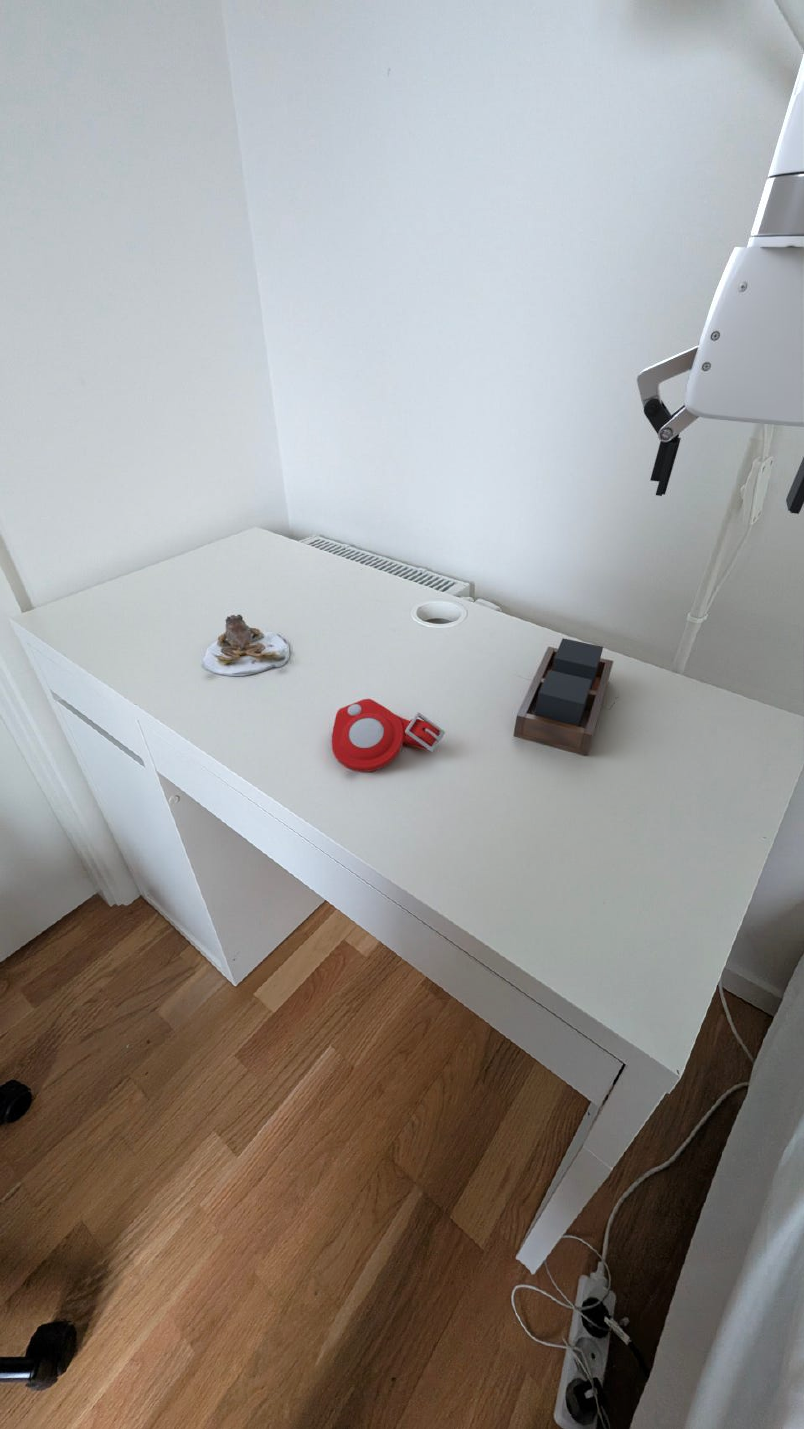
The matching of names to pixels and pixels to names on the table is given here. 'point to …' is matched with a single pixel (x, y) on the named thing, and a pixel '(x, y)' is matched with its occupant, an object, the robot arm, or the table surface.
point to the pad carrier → (554, 730)
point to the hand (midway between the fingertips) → (724, 499)
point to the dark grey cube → (563, 698)
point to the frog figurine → (245, 650)
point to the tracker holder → (378, 735)
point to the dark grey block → (577, 659)
